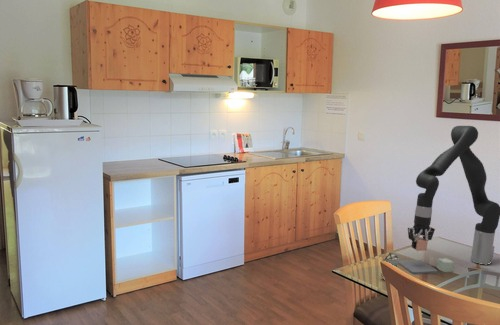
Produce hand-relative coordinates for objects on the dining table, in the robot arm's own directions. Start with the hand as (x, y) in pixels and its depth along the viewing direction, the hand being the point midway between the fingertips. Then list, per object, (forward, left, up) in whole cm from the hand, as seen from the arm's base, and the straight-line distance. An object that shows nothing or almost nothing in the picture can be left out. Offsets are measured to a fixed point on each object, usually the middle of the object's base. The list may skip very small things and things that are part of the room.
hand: (418, 247), depth 216 cm
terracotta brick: (0, 0, 0) cm, 0 cm away
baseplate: (0, 0, -10) cm, 10 cm away
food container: (+20, +9, -10) cm, 24 cm away
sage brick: (-13, +4, -10) cm, 17 cm away
